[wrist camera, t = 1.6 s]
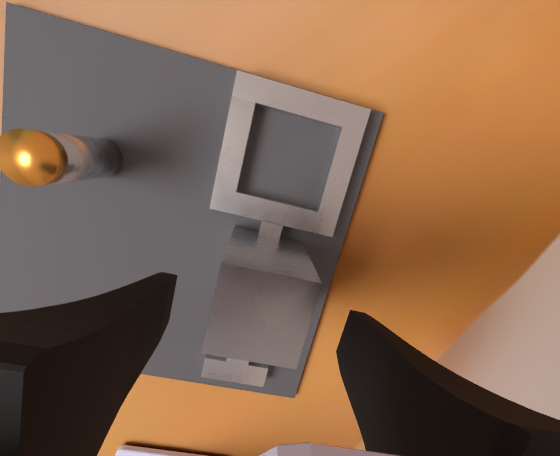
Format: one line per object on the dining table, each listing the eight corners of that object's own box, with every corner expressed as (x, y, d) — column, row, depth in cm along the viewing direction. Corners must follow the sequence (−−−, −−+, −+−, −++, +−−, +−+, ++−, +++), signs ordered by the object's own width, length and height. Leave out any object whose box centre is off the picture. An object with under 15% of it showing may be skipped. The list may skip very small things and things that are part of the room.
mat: (293, 394, 20) (294, 398, 20) (-2, 347, 18) (-6, 350, 17) (381, 113, 16) (383, 112, 16) (11, 5, 14) (6, 2, 13)
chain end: (284, 381, 19) (294, 478, 13) (180, 364, 18) (142, 459, 13) (365, 111, 15) (428, 84, 10) (238, 74, 15) (223, 19, 9)
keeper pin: (120, 181, 16) (53, 192, 10) (82, 172, 15) (-6, 179, 10) (125, 143, 15) (57, 136, 10) (85, 133, 15) (-5, 121, 10)
